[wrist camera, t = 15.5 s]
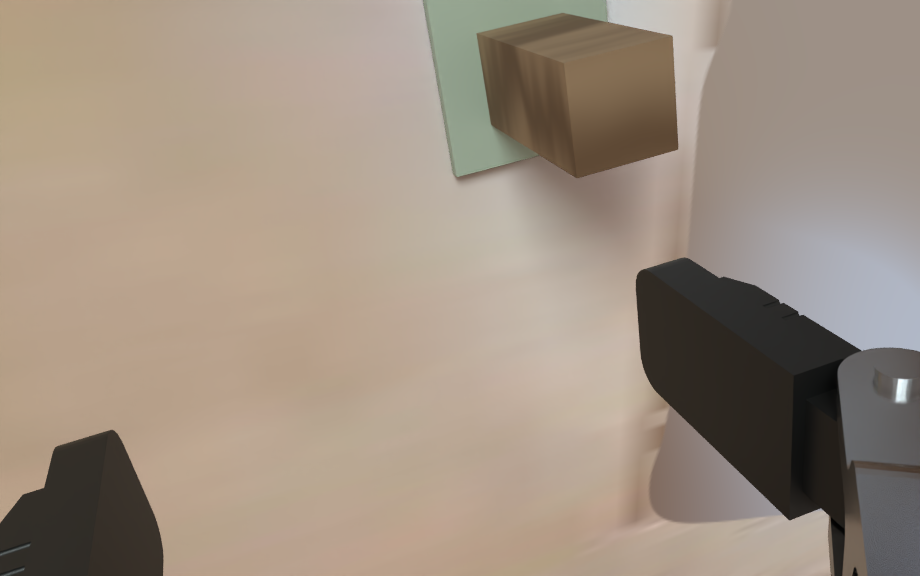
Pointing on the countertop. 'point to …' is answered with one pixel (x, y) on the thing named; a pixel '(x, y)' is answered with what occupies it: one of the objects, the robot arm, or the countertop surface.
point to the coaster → (461, 78)
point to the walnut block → (581, 90)
